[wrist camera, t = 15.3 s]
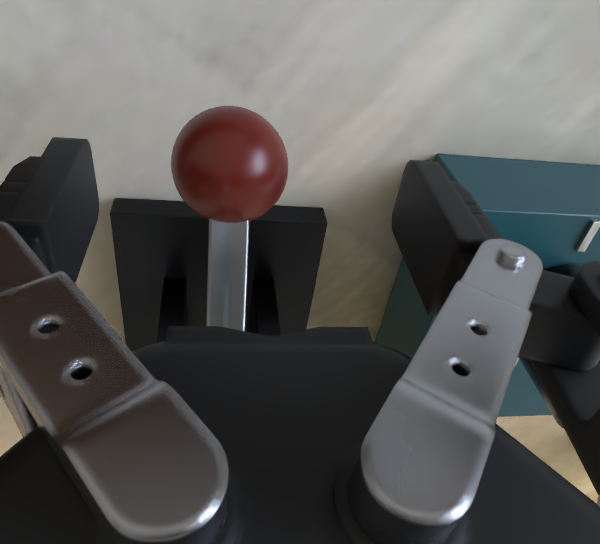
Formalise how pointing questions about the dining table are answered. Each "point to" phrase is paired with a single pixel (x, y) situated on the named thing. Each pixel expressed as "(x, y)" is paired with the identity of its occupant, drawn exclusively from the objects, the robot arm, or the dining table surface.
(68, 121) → the dining table surface
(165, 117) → the dining table surface
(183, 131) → the lever
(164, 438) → the robot arm
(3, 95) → the dining table surface
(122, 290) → the lever bracket
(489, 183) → the dial panel
